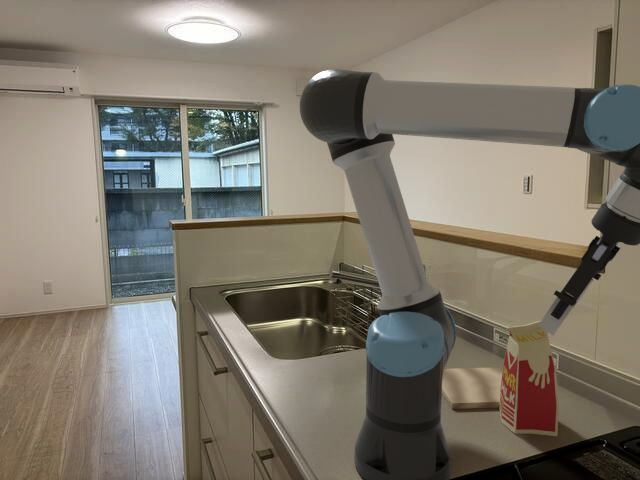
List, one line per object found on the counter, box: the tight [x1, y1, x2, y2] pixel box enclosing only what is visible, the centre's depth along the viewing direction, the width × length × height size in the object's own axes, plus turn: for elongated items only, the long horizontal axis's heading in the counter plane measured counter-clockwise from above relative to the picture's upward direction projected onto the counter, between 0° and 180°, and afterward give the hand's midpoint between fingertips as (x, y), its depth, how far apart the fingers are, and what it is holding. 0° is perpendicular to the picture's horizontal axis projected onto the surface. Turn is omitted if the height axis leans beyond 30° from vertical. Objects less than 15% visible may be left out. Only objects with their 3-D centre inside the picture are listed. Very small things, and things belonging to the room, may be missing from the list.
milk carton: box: [498, 319, 560, 437], centre depth 87 cm, size 9×9×20 cm
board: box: [442, 366, 503, 410], centre depth 102 cm, size 18×16×1 cm
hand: (556, 316), depth 83 cm, fingers open, 13 cm apart
